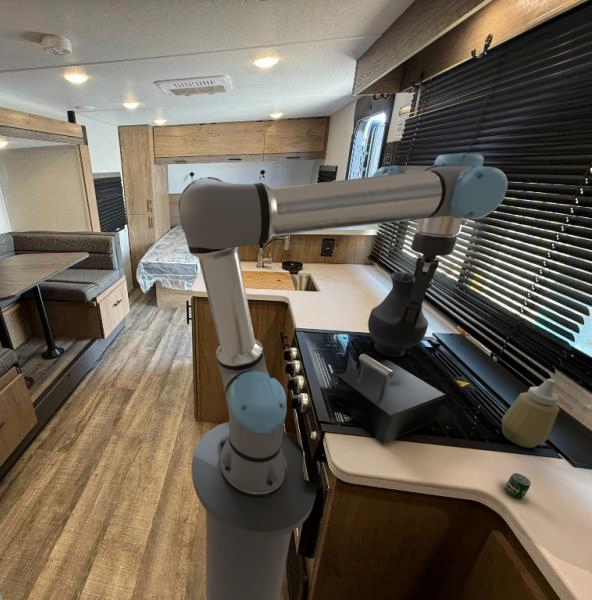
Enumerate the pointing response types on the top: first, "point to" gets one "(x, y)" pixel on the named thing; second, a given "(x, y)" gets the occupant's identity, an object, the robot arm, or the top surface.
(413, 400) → the compartment lid
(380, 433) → the compartment
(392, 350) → the pitcher
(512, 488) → the beer can
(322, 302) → the top surface
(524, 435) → the squeeze bottle
